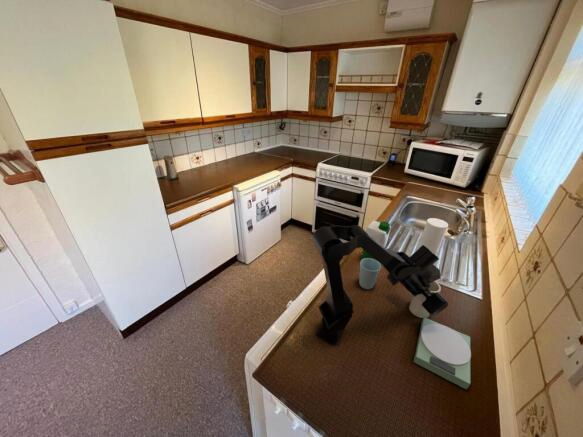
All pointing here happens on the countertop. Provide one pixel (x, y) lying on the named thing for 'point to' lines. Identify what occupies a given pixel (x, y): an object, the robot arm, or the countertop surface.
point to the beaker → (419, 299)
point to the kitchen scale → (444, 352)
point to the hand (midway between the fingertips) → (427, 296)
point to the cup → (368, 272)
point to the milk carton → (377, 235)
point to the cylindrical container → (433, 234)
